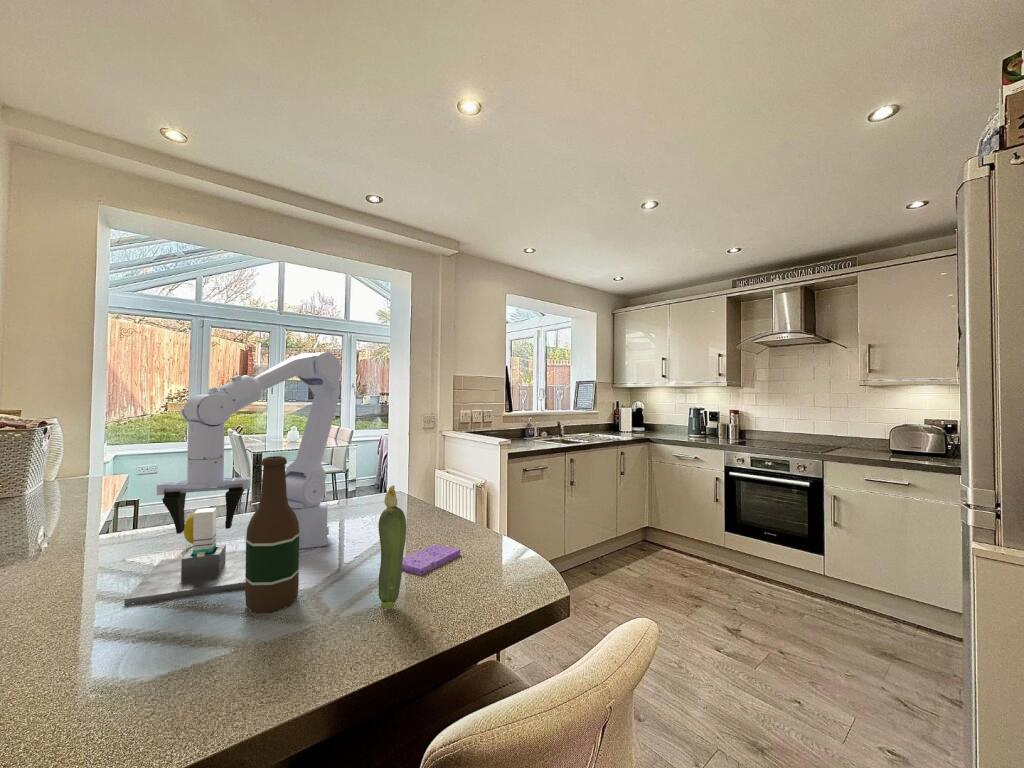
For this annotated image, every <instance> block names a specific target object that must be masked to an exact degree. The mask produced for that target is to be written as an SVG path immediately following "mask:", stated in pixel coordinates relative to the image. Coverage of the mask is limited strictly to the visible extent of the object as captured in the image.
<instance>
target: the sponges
mask: <svg viewBox="0 0 1024 768" xmlns="http://www.w3.org/2000/svg"><path fill="white" fill-rule="evenodd" d="M460 554H461V549H460V548H455V547H451V546H449V547H448V546H444V545H441V544H436V543H434V544H433V545H430V546H428V547H426V548H424V549H421V550H419V551H416V552H414V553H411V554H409V555H407V556H406V555H405V556H403V562H402V571H404V572H407V573H411V574H415V575H419V576H422V575H424V574H426V573H428V572H430V571H432V570H434V569H435V568H438V567H439V566H441V565H444V564H446V563H447V562H449V561H451V560H453V559H455V558H457V557H459V556H460Z"/></svg>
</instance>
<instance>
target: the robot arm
mask: <svg viewBox="0 0 1024 768" xmlns="http://www.w3.org/2000/svg"><path fill="white" fill-rule="evenodd" d="M342 369H343V366H342V364H341V362H340V361H339V359H338V357H337V356H336V355H335V354H334V353H332V352H330V351H323V352H315V353H314V352H313V353H311V352H310V353H307V352H306V353H304V352H303V353H302V352H301V353H299V354H296V355H294V356H290V357H289V358H287V359H285V360H284V361H281V362H279V363H278V364H276V365H274V366H272V367H270V368H269V369H267V370H265V371H263V372H261V373H259V374H258V375H255V376H254V377H252V376H250V375H245V374H244V375H242V376H241V375H239V374H237V375H233V376H232V377H231V381H229V382H227V383H225V384H222V385H220V386H219V387H216V386H212V387H210V388H208V392H207V394H196V395H193V396H191V397H190V398H188V399H187V402H185V404H184V407H183V408H181V410H180V411H181V415H182V418H183V419H184V420H185V421H186V423H187V458H186V459H187V469H186V471H187V474H186V477H187V478H186V480H178V481H177V480H176V481H168V482H160V483H158V484H156V496H163V497H162V498H161V499H162V503H163V505H164V506H165V507H166V509H167V510H168V512H169V514H170V516H171V518H172V521H173V523H174V527H175V532H176V535H178V534H182V533H184V526H185V522H186V519H185V507H186V506H185V505H186V496H187V493H197V492H198V493H199V492H201V493H202V492H211V491H225V490H226V492H225V506H226V509H225V511H226V512H225V523H224V526H225V530H229V529H231V527H232V526H233V521H234V520H233V519H234V516H235V512H236V510H237V506H238V504H239V502H240V500H241V498H242V495H243V494H244V491H245V490H249V489H250V488H251V477H247V476H246V477H225V475H224V474H225V471H224V470H225V423H226V422H227V421H228V420H230V418H231V416H232V415H233V414H234V413H236V412H238V411H240V410H242V409H243V408H246V407H248V406H250V405H252V404H254V403H256V402H257V401H259V400H260V399H261V398H262V395H263V392H264V391H266V390H268V389H269V388H272V387H274V386H277V385H279V384H280V383H283V382H285V381H288V380H289V379H292V378H294V377H297V378H298V379H299V380H300V381H301V382H303V384H304V385H306V386H307V388H309V389H310V391H311V392H312V394H313V398H312V403H311V405H310V406H311V407H310V409H309V412H308V416H307V421H306V422H305V426H304V430H303V433H302V437H301V440H300V444H299V448H298V451H297V455H296V458H295V460H294V461H292V463H290V464H289V465H288V466H287V467H286V468H285V474H286V492H287V500H288V505H289V506H290V507H291V509H292V510H293V511H294V513H295V514H296V517H297V519H298V522H299V550H301V549H309V548H310V549H311V548H318V547H326V546H327V545H328V536H329V534H330V526H328V502H321V501H322V500H323V499H324V497H325V495H326V492H327V491H326V490H327V487H326V477H327V472H326V470H325V469H324V467H323V466H322V461H323V458H324V454H325V450H326V448H327V447H326V446H327V442H328V439H329V435H330V432H331V429H332V425H333V421H334V418H335V417H334V416H335V414H336V411H337V410H336V409H337V407H338V403H339V400H340V395H341V381H340V378H341V373H342ZM227 490H228V491H227Z"/></svg>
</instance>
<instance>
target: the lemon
mask: <svg viewBox="0 0 1024 768" xmlns="http://www.w3.org/2000/svg"><path fill="white" fill-rule="evenodd" d="M193 520H194V513H192V514H191V515H189V516H188V518H187V519H185V526H184V531H183V535H184V538H185V540H186V542H188V543H189V544H192V545H193Z"/></svg>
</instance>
